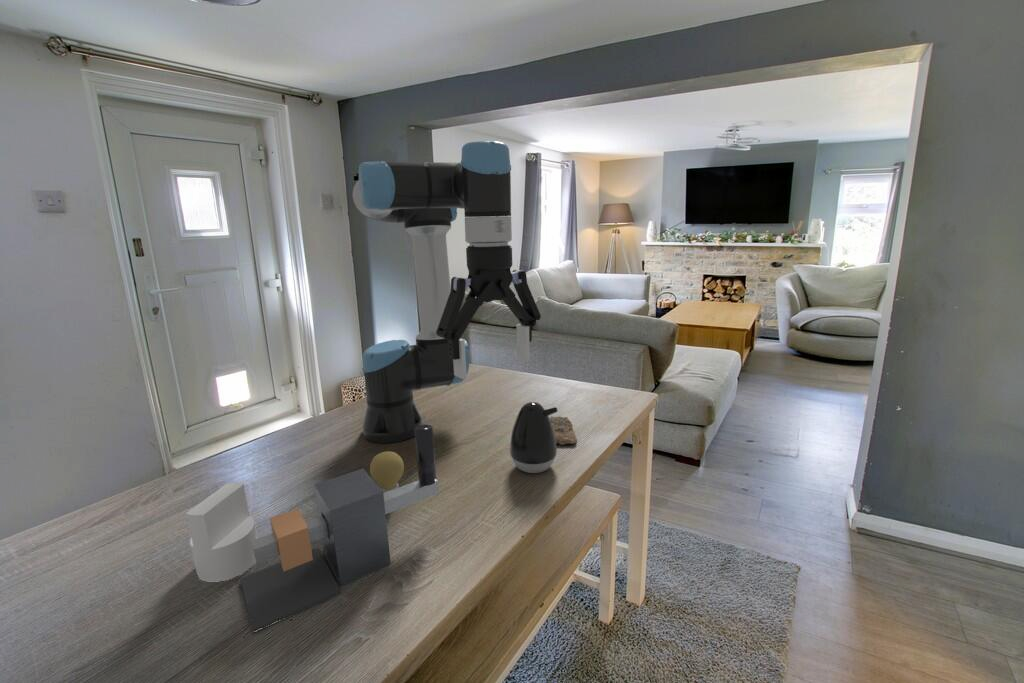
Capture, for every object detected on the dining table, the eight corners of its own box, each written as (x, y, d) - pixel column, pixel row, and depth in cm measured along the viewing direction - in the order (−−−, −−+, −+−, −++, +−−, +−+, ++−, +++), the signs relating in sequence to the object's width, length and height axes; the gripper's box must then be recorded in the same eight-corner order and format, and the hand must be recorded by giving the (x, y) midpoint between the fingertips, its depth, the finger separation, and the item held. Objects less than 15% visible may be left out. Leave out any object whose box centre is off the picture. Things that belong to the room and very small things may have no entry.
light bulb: (377, 512, 91) (372, 464, 88) (370, 495, 96) (365, 450, 94) (410, 502, 93) (406, 456, 91) (401, 487, 99) (397, 443, 96)
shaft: (253, 554, 70) (239, 478, 67) (432, 486, 86) (427, 423, 83) (256, 565, 68) (242, 487, 65) (440, 493, 84) (435, 428, 81)
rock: (535, 432, 123) (544, 443, 113) (539, 410, 123) (549, 418, 113) (567, 437, 124) (579, 448, 115) (571, 415, 124) (584, 424, 114)
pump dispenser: (554, 481, 100) (554, 413, 96) (506, 477, 102) (503, 410, 98) (560, 457, 109) (559, 395, 105) (515, 454, 111) (513, 393, 107)
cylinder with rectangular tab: (233, 586, 73) (219, 517, 70) (183, 580, 75) (167, 512, 72) (272, 547, 82) (261, 484, 79) (225, 542, 83) (213, 480, 80)
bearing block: (324, 554, 80) (313, 484, 76) (371, 535, 84) (363, 468, 81) (340, 586, 73) (330, 510, 69) (390, 563, 77) (383, 491, 74)
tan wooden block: (275, 549, 73) (269, 518, 72) (303, 539, 76) (298, 508, 74) (283, 571, 69) (277, 538, 67) (312, 559, 71) (307, 527, 69)
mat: (240, 581, 74) (240, 578, 74) (318, 550, 81) (318, 547, 80) (253, 633, 65) (252, 629, 64) (340, 593, 71) (339, 590, 71)
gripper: (432, 250, 68) (442, 391, 73) (560, 240, 83) (560, 358, 88) (408, 248, 73) (418, 378, 79) (531, 239, 88) (533, 349, 94)
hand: (493, 368), depth 84 cm, fingers open, 13 cm apart
